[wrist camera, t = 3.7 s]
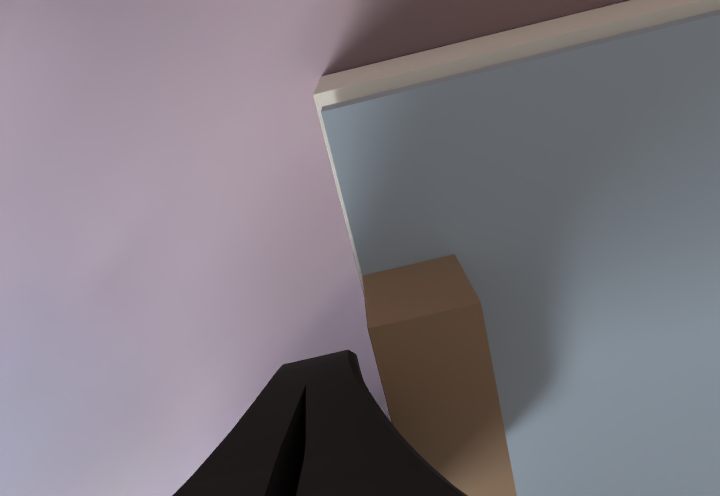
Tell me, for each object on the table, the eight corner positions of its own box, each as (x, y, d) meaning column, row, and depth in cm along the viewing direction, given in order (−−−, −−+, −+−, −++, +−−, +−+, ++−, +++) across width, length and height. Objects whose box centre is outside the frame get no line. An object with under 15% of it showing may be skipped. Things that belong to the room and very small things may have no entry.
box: (858, 301, 18) (1066, 406, 13) (402, 402, 19) (426, 541, 14) (872, -60, 15) (1156, -112, 10) (321, 76, 16) (313, 94, 10)
